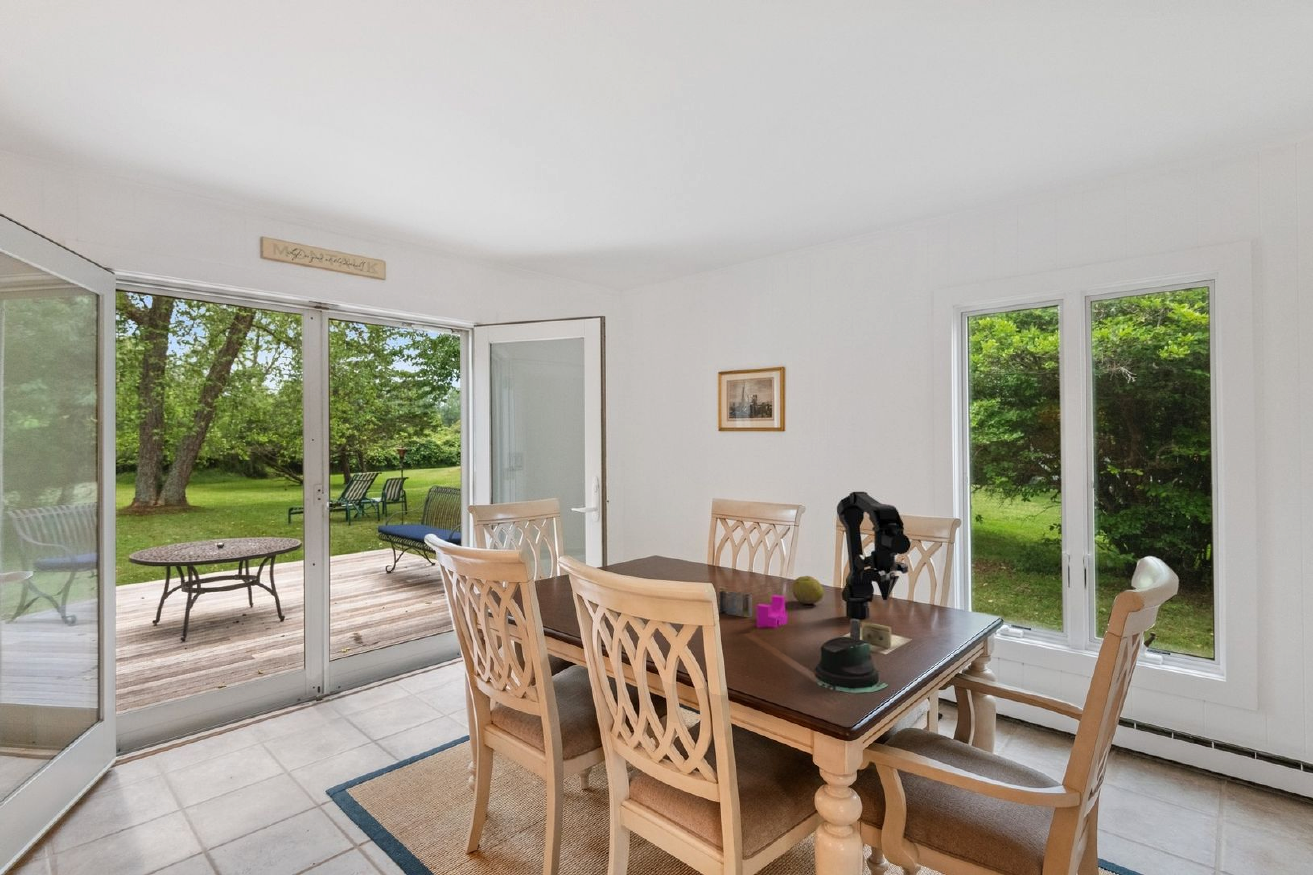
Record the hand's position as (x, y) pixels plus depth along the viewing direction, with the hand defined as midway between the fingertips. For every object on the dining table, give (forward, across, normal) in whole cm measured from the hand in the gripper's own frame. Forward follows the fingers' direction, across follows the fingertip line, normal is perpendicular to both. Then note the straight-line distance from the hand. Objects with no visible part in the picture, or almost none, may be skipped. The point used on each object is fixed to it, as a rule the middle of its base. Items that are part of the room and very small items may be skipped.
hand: (885, 599), depth 182 cm
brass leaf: (+11, +8, +1) cm, 13 cm away
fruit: (+12, -18, -38) cm, 44 cm away
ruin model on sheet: (+13, +10, -49) cm, 52 cm away
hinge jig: (+12, +6, -1) cm, 13 cm away
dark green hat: (+12, +33, +6) cm, 36 cm away
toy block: (+12, +10, -33) cm, 36 cm away
